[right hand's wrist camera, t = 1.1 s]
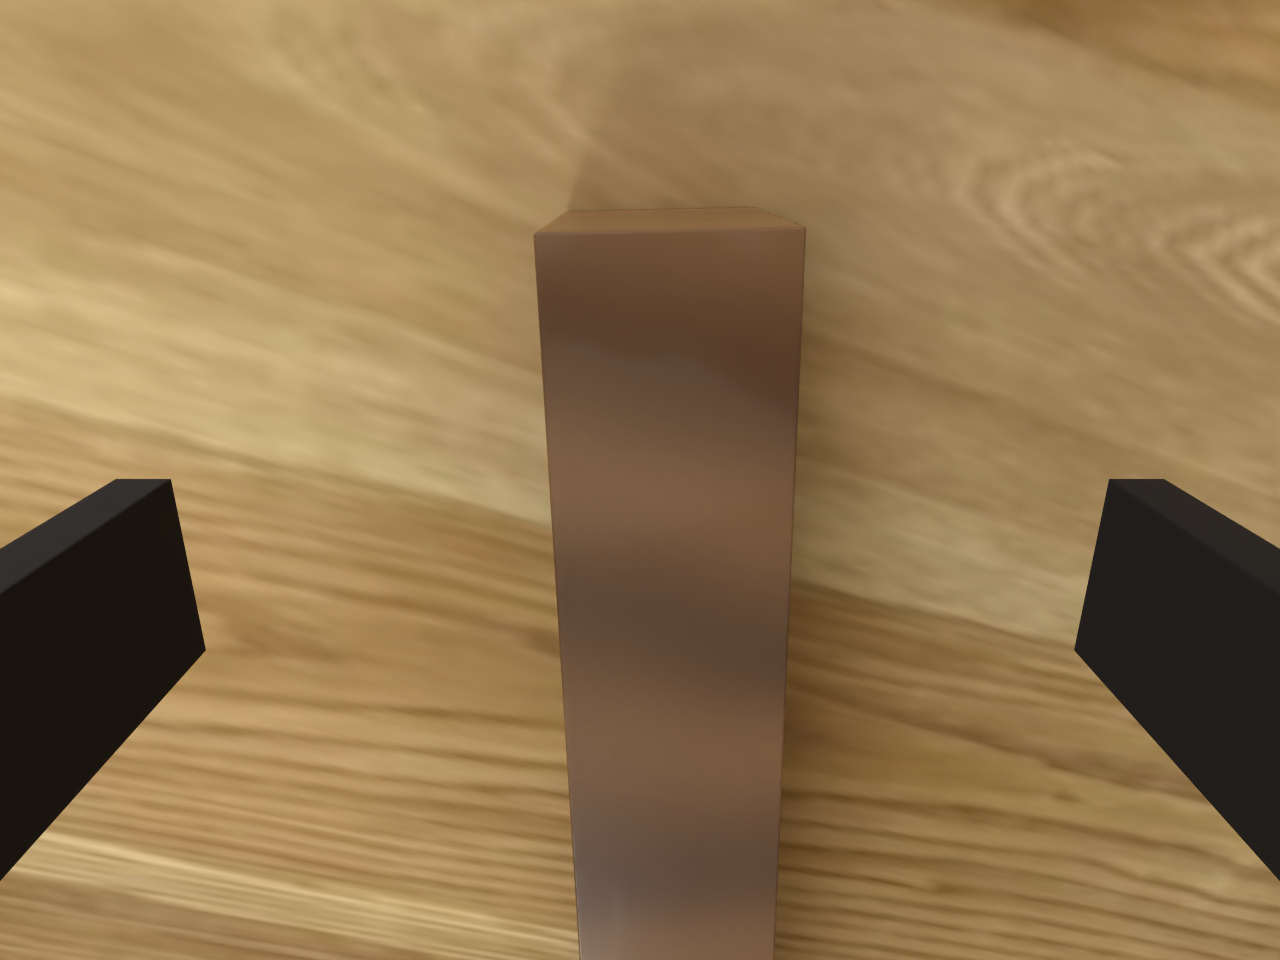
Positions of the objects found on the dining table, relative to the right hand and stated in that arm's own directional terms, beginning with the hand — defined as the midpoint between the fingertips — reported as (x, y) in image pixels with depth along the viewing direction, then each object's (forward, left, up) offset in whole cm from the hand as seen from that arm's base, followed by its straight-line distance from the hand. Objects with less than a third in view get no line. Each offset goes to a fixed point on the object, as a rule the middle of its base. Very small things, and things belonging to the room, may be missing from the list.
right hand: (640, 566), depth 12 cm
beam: (-13, +22, -14) cm, 29 cm away
